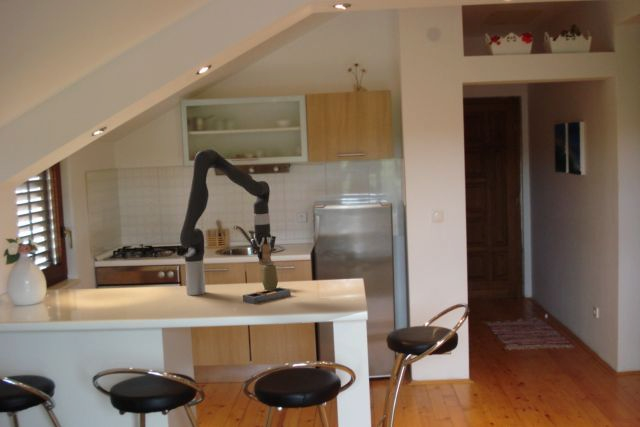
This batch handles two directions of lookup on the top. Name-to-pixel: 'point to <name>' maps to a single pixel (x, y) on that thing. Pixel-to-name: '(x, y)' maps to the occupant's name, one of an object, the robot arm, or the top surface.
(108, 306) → the top surface
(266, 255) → the walnut peg
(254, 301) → the grey compartment tray
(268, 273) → the squeeze bottle
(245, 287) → the top surface
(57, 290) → the top surface
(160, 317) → the top surface
